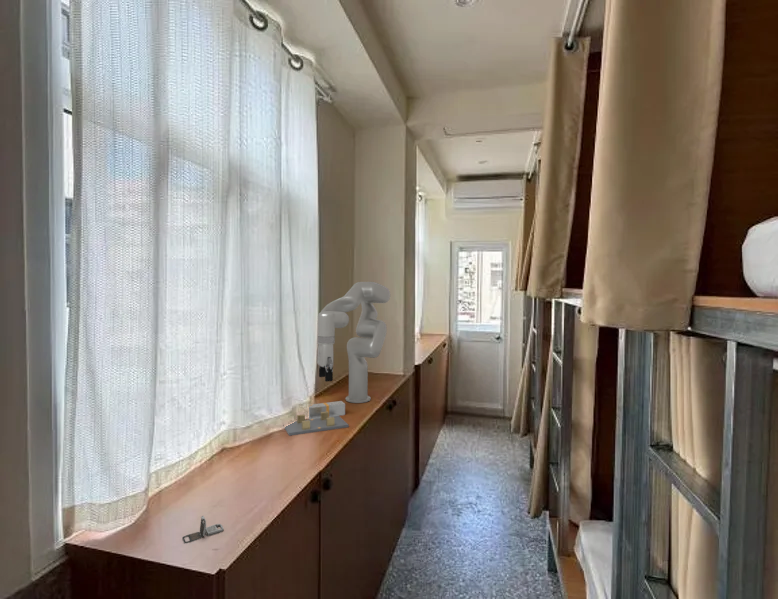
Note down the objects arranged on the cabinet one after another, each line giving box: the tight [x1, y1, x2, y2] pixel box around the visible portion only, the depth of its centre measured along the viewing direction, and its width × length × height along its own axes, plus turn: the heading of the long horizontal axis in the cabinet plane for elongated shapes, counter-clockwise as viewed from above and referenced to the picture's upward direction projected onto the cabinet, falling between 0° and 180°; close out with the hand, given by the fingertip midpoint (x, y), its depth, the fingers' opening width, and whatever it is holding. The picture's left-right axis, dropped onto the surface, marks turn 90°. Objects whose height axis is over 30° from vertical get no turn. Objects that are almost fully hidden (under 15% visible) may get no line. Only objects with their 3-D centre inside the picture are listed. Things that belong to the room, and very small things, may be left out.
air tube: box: [308, 400, 346, 420], centre depth 184 cm, size 5×16×5 cm, turn 115°
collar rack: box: [284, 411, 350, 436], centre depth 170 cm, size 13×24×4 cm, turn 115°
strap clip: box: [182, 515, 225, 544], centre depth 96 cm, size 8×3×4 cm, turn 126°
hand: (325, 378), depth 184 cm, fingers open, 9 cm apart
